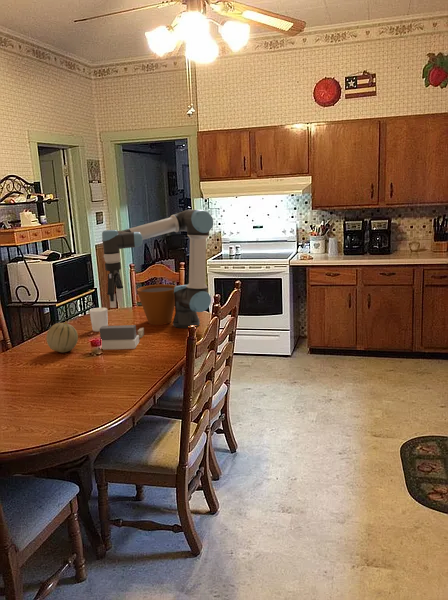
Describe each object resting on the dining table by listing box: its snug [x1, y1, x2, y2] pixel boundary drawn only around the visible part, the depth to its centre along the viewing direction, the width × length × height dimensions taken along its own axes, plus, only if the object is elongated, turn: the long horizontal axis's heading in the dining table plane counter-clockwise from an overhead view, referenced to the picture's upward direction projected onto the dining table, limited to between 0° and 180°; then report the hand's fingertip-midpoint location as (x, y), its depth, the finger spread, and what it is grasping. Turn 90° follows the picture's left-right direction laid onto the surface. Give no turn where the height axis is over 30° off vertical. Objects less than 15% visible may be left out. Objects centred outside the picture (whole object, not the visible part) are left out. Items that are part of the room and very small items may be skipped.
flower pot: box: [136, 283, 177, 326], centre depth 310 cm, size 24×24×20 cm
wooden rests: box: [137, 327, 145, 339], centre depth 281 cm, size 17×6×4 cm, turn 87°
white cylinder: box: [89, 307, 109, 332], centre depth 297 cm, size 10×10×12 cm
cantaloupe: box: [46, 320, 79, 353], centre depth 259 cm, size 15×15×15 cm
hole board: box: [102, 334, 140, 350], centre depth 266 cm, size 18×10×4 cm, turn 87°
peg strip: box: [99, 324, 138, 340], centre depth 265 cm, size 17×5×10 cm, turn 87°
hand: (116, 304), depth 263 cm, fingers open, 13 cm apart
